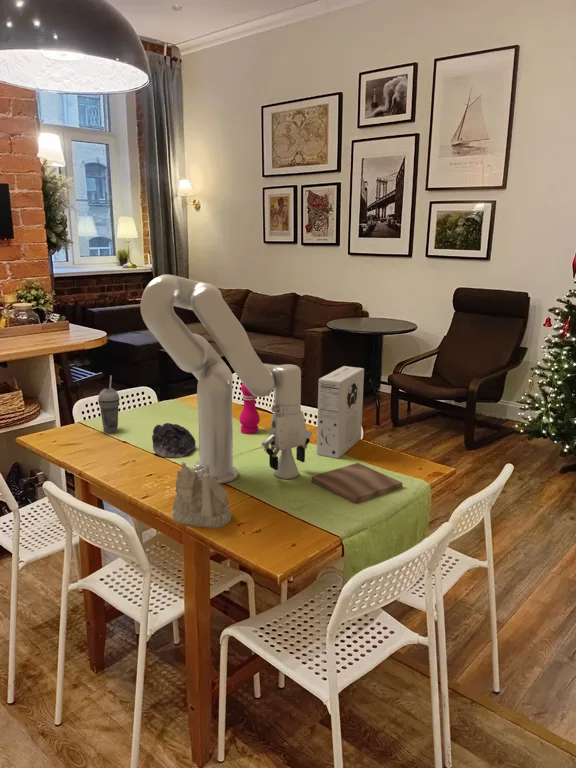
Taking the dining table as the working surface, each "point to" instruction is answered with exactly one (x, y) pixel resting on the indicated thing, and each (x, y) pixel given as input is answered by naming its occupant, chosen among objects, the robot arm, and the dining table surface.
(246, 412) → the pepper mill
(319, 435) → the cereal box
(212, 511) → the miniature castle
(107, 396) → the beverage cup
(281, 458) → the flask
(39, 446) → the dining table surface
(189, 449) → the crystal cluster
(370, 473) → the walnut board
